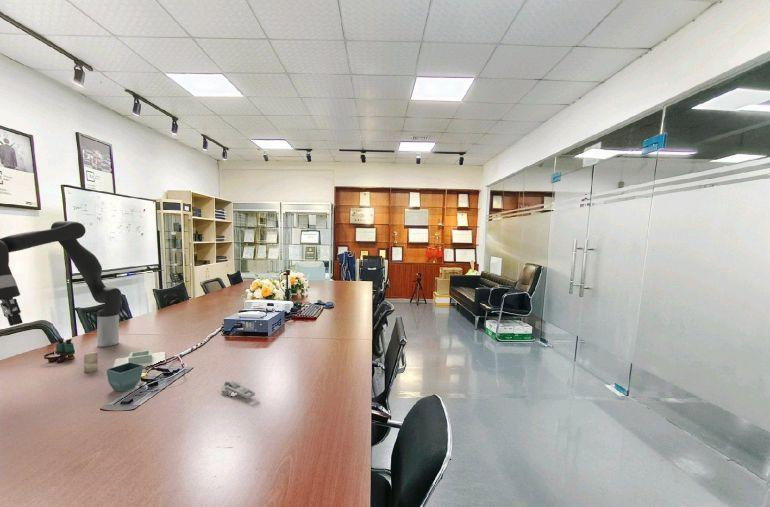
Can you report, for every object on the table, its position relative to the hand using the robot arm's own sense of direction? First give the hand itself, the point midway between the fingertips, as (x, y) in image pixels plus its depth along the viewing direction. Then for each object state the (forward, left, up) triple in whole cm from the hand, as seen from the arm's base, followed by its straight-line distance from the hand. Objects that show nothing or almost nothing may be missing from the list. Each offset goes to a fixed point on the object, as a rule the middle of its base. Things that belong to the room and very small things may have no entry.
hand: (16, 324), depth 125 cm
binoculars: (-24, +8, -25) cm, 36 cm away
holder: (-1, +40, -25) cm, 48 cm away
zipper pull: (+60, +73, -25) cm, 98 cm away
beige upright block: (-1, +22, -25) cm, 34 cm away
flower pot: (+29, +36, -25) cm, 53 cm away
